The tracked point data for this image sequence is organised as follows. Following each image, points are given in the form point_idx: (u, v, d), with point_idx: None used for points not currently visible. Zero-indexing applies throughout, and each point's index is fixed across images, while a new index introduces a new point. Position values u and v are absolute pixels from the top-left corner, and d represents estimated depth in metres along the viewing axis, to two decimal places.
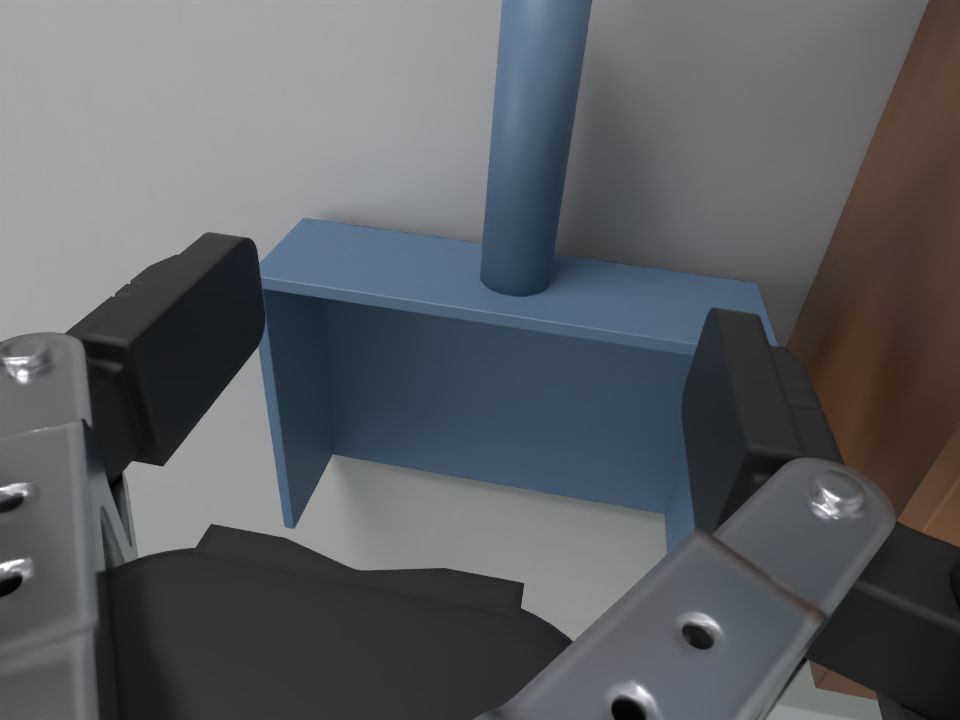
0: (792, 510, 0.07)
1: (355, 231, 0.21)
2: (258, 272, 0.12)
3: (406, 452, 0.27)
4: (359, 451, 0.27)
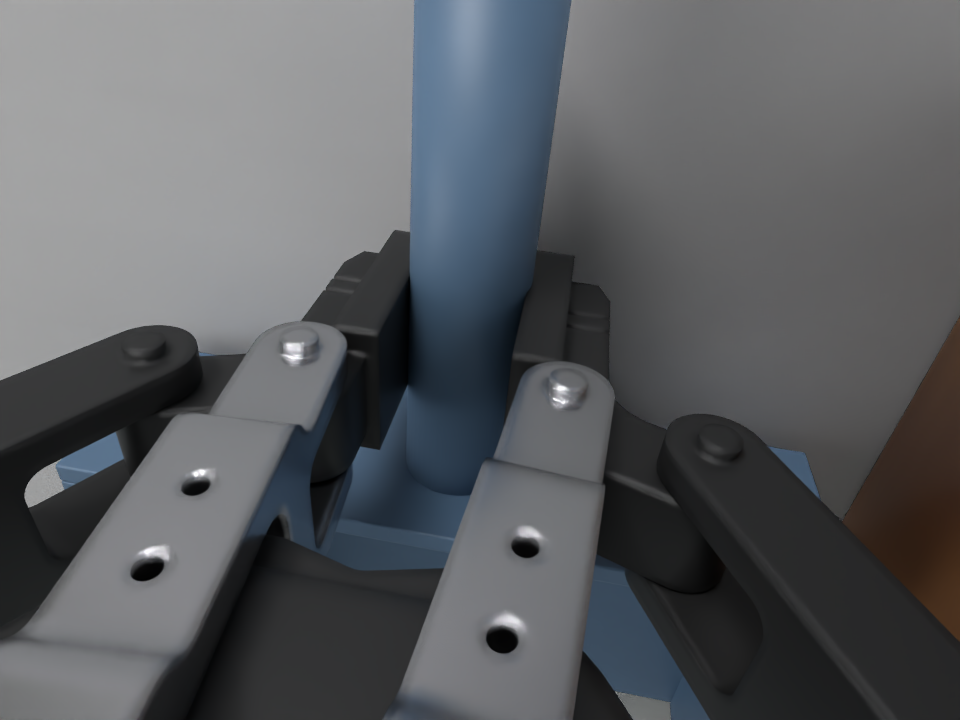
0: (542, 413, 0.08)
1: None
2: None
3: None
4: None
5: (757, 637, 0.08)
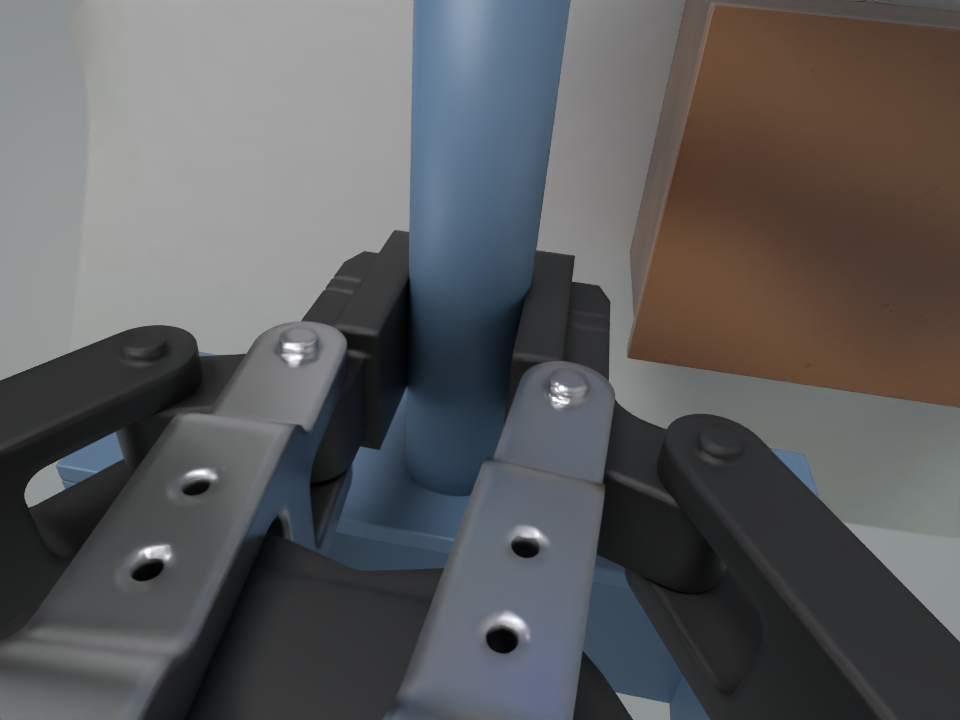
0: (542, 413, 0.08)
1: None
2: None
3: None
4: None
5: (757, 637, 0.08)
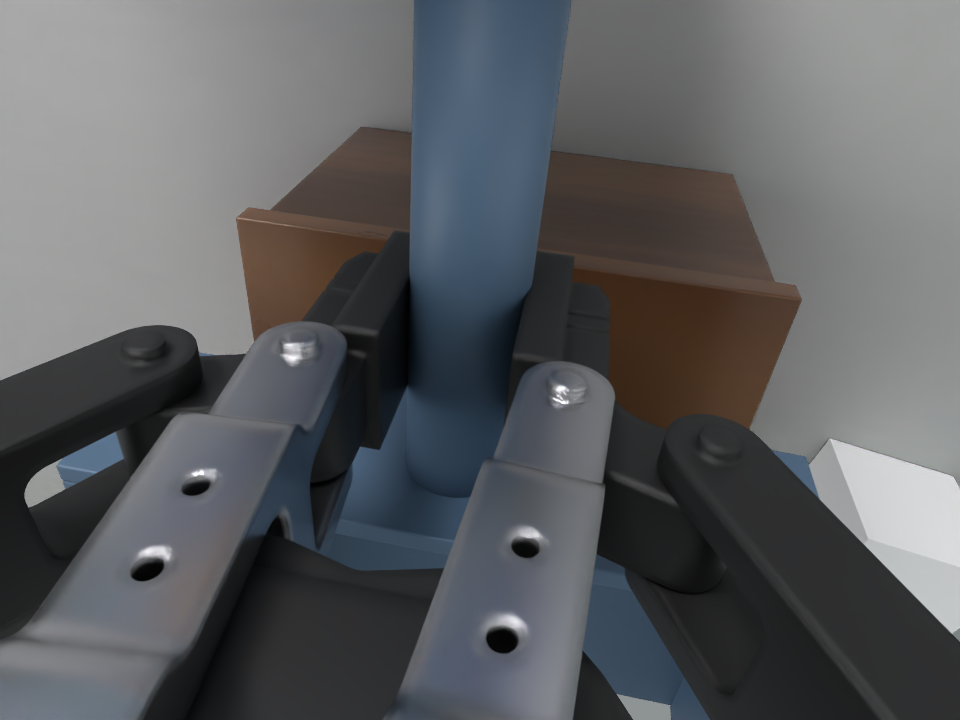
0: (542, 413, 0.08)
1: None
2: None
3: None
4: None
5: (757, 637, 0.08)
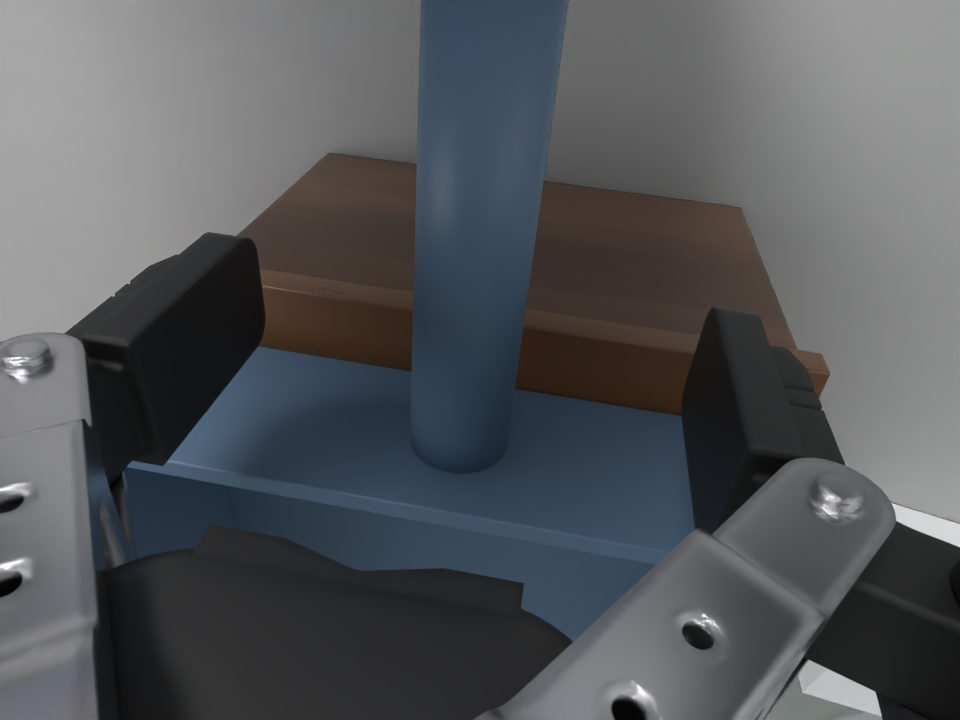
0: (792, 510, 0.07)
1: None
2: (258, 272, 0.12)
3: None
4: None
5: None
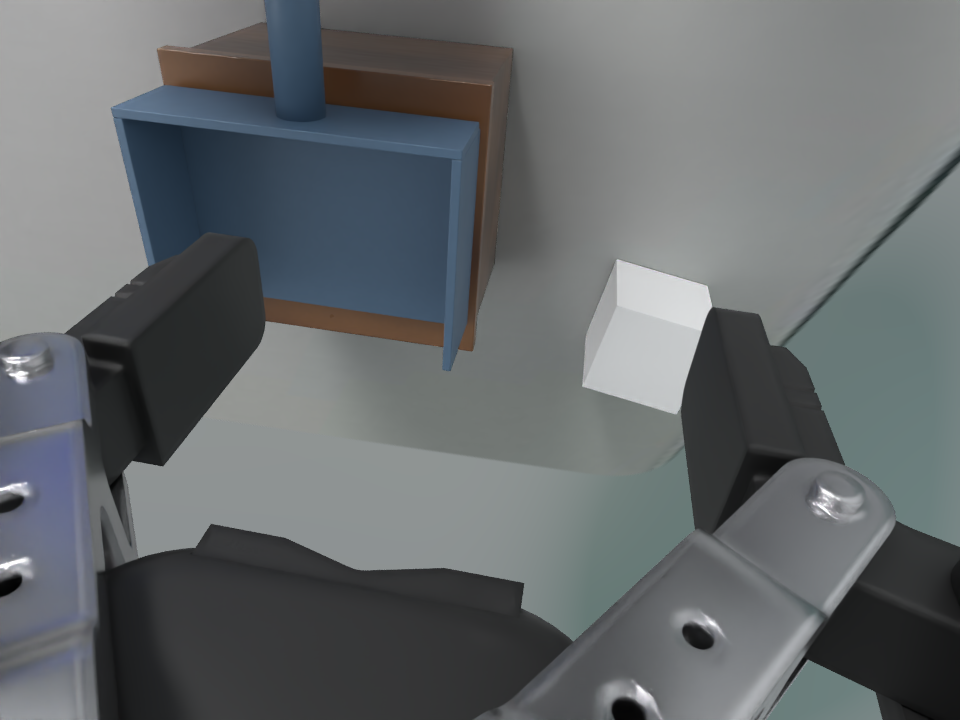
0: (792, 510, 0.07)
1: (199, 91, 0.30)
2: (258, 272, 0.12)
3: (264, 283, 0.35)
4: None
5: None
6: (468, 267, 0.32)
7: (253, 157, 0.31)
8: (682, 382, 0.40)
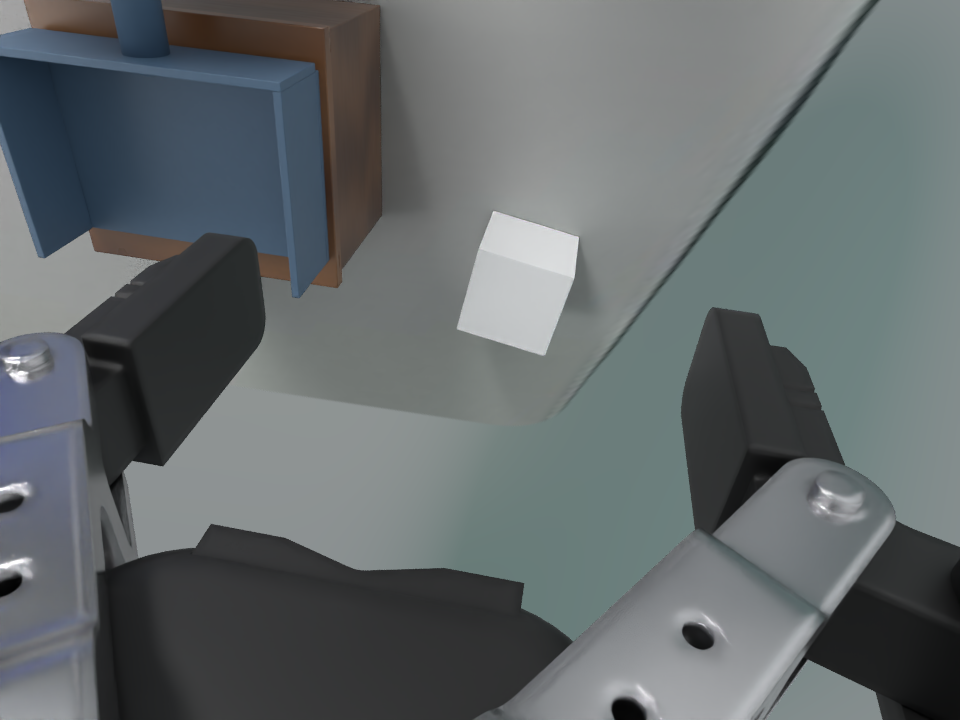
0: (792, 510, 0.07)
1: (60, 33, 0.32)
2: (258, 272, 0.12)
3: (140, 221, 0.38)
4: (110, 223, 0.38)
5: None
6: (320, 203, 0.35)
7: (117, 97, 0.34)
8: (546, 324, 0.42)
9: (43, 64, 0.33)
